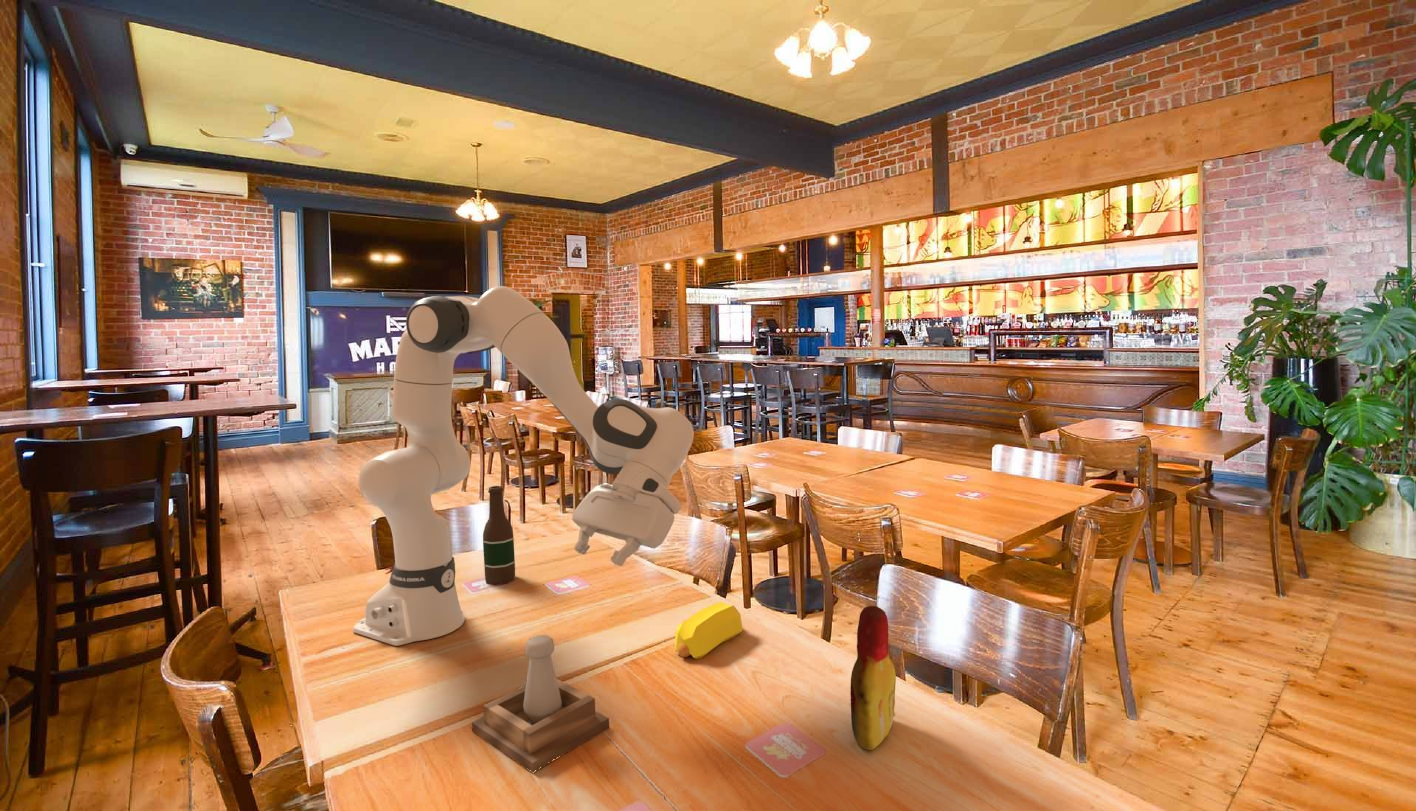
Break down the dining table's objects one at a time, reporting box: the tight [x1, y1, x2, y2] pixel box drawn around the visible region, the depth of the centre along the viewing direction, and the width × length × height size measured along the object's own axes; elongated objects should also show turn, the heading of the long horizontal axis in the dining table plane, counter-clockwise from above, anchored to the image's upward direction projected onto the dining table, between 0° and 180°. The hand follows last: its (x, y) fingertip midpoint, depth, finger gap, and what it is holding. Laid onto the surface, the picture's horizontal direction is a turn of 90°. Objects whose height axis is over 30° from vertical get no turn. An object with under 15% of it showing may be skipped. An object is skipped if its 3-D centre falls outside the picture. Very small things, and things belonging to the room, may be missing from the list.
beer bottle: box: [482, 485, 516, 586], centre depth 168 cm, size 8×8×24 cm
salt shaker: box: [523, 634, 562, 725], centre depth 103 cm, size 6×6×13 cm
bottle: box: [849, 605, 897, 751], centre depth 99 cm, size 12×6×20 cm, turn 152°
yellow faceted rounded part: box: [674, 601, 744, 660], centre depth 131 cm, size 18×7×8 cm
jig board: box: [471, 678, 610, 773], centre depth 103 cm, size 16×14×4 cm
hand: (596, 557), depth 111 cm, fingers open, 8 cm apart
